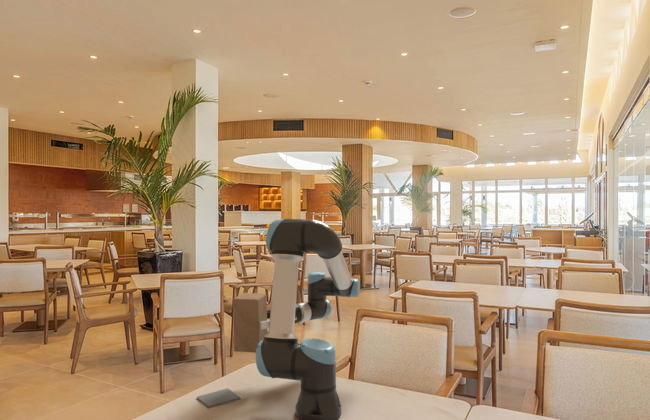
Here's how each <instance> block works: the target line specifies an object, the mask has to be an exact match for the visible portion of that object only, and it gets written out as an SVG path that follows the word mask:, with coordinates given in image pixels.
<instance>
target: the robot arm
mask: <svg viewBox="0 0 650 420" xmlns="http://www.w3.org/2000/svg"><path fill="white" fill-rule="evenodd" d="M265 244H266V245H265V247H266V249H267V251H269V252H270V257H271V258H272V259H273V261H274V266H273V277H272V287H271V288H272V290H271V301H270V309H269V310H268V309H267V321H263V322H260V329H261V330H262V329H267V333H266V334H265V335H264V340H262V341H260V342H259V343H258V345H257V349H256V353H255V364H256V369H257V371H258V372H259V374H260V375H262V376H263V377H268V378H271V379H283V380H284V379H285V380H291V381H292V380H293V381H300V391H299V394H298V398H297V402H296V404H295V416H296V417H297V418H298V419H299V420H338V419H339V418H340V417H341V416H342V403H341V401H340V397H339V395H338V391H337V357H336V356H337V355H336V347H335V345H333V344H332V343H330V342H329V341H326V340H324V339H320V338H306V339H305V338H304V339H303V340H301V342H300V343H298V342H299V338H298V336H297V334H296V333H295V324H299V323H303V324H304V323H305V322H308V321H315V320H319V319H324V318H326V317H328V316H330V315H331V314H332V306H331V303H330V301H329V300H328V299H327V297H340V298H341V297H342V298H357V297H359V295H360V293H361V283H360V282H361V281H360V280H359V279H358V278H352V275H351V273H350V269H349V268H348V266H347V261H346V260H345V257H344V254H343V252H342V251H343V244H342V241H341V238H340V237H339V235H338V233H336V231H335V230H334V229H333V228H332V227H330V226H329V225H328V224H326V223H325V222H322V220H318V219H314V218H313V219H311V218H309V219H306V218H305V219H304V218H303V219H302V218H283V219H275V220H273V221H272V222H271V223H270V224H269V227H267V232H266V236H265ZM305 253H315V254H317V255H318V257H320V258H321V259H322V260H323V262H324V264H325V267H326V268H327V271H328V274H329V276H330V277H327V276H326V272H323V271H313V272H310V273H308V275H307V301H306V302H299V303H297V294H298V282H299V281H298V279H299V269H300V268H299V267H300V262H301V261H302V260H304V257H305ZM268 319H269V320H268Z"/></svg>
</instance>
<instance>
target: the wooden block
mask: <svg viewBox="0 0 650 420" xmlns="http://www.w3.org/2000/svg"><path fill="white" fill-rule="evenodd" d="M267 297H268V296H267V293H258V292H257V293H256V292H242V293H240V294H239V295H237V296H235V297H234V298H233V299H232V315H233V317H232V318H233V320H232V321H233V322H232V323H233V350H234V352H239V353H241V352H242V353H254V354H256V349H257V345H258V343H259V342H260V341H262V340H264V335H265V334H266V333H267V332H268V328H267V329H262V330H261V329H260V322H263V321H268V319H267V310H268V304H267V303H268V302H267V300H268V299H267Z"/></svg>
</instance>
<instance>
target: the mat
mask: <svg viewBox="0 0 650 420" xmlns="http://www.w3.org/2000/svg"><path fill="white" fill-rule="evenodd" d="M196 399H197V400H198V401H199V402H200V403H202V404H203V405H204V406H205V407H207V409H211V408H214V407H218V406H220V405H224V404H228V403H230V402H235V401H237V400H240V399H241V396H240V395H238V394H237V393H236V392H234V391H232V390H231V389H230V388H229V387H228V388H224V389H220V390H217V391H213V392H209V393H207V394H202V395H199V396H196Z"/></svg>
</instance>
